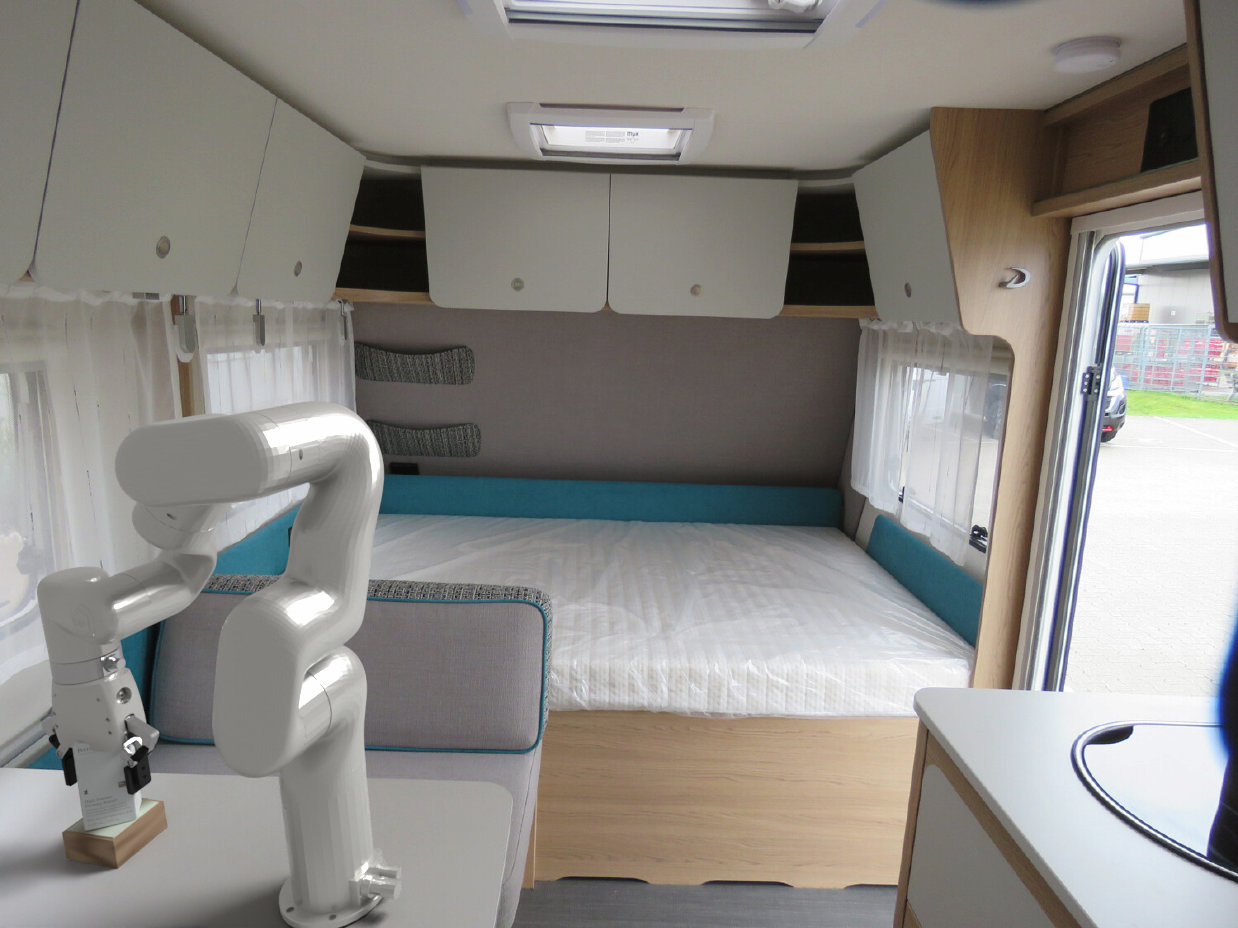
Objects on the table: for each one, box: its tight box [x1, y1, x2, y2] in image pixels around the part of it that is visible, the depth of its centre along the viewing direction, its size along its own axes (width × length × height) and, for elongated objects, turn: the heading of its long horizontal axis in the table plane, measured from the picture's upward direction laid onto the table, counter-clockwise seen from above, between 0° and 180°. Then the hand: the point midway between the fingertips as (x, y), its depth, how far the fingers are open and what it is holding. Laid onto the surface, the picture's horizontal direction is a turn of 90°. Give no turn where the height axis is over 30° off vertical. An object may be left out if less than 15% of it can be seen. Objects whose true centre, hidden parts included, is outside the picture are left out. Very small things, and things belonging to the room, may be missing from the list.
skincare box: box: [73, 734, 142, 831], centre depth 98 cm, size 6×4×12 cm
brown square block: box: [61, 797, 168, 869], centre depth 100 cm, size 8×8×4 cm
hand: (109, 783), depth 98 cm, fingers open, 9 cm apart
